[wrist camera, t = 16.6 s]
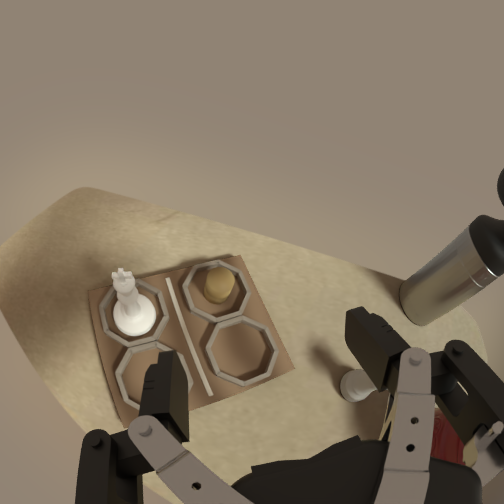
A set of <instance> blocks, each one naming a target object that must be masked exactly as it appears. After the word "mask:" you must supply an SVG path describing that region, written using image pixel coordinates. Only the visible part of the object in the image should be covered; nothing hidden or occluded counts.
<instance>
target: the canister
mask: <svg viewBox="0 0 504 504" xmlns="http://www.w3.org/2000/svg"><path fill="white" fill-rule="evenodd" d="M463 449H464V444H463V443H462V441H461V440H460V438H459V437H458V435H457V433H456V432H455V430H454V429H453V427H452V426H451V424H450V423H449V421H448V420H447V418H446V417H445V416H444V414H443V413H442V411H441V410H440V408H435V412H434V426H433V437H432V446H431V453H430V456H431V457H435V458H438V459H442V460H446V461H449V462H453V463H457V464H462V465H466V464H464V463H463Z"/></svg>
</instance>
